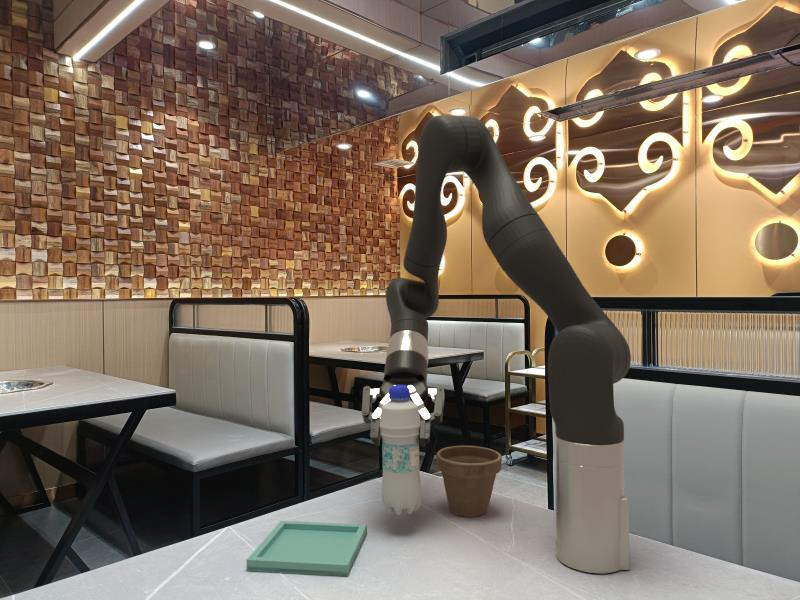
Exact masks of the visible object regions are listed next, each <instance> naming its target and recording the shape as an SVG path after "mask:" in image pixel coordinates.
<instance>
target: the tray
mask: <svg viewBox="0 0 800 600" xmlns="http://www.w3.org/2000/svg"><path fill="white" fill-rule="evenodd" d="M367 526H368V525H367V524H363V523H362V524H359V523H341V522H340V523H339V522H321V521H319V522H316V521H315V522H314V521H297V520H296V521H294V520H280V521H279V522H278V523H277V524H276V526H275V527H274V528H273V529H272V530H271V531H270V532H269V534H268V535H267V536H266V537H265V538H264V539H263V540H262V542H260V544H259V545H258V546H257V547H256V548H255V550H254V551H252V553H251V554H250V555H249V556H248V558H247V559H246V571H247V572H262V573H277V574H278V573H281V574H295V575H312V576H331V577H348V576H349V575H350V572H351V570H352V568H353V565H354V563H355V560H356V559H357V558H358V557H357V556H358V555H359V553H360V550H361V548H362V545H363V543H364V542H365V539H366V536H367V533H368V529H367V528H368V527H367Z"/></svg>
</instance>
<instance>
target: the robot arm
mask: <svg viewBox="0 0 800 600" xmlns="http://www.w3.org/2000/svg"><path fill="white" fill-rule="evenodd" d="M450 172H452V173H453V172H455V173H456V172H463V173H465V174H466V175H467V176H468V177H469V179H470V180H471V182H472V183H473V185H474V187H475V188H476V190H477V192H478V193H479V196H480V198H481V203H482V205H481V207H482V209H481V210H482V212H481V213H482V214H481V229H482V235H483V239H484V241H485V243H486V245H487V247H488V250H490V252H491V254H492V256H493V257H494V258H495V261H496V262H497V263H498V266H499V267H500V269H501V270H502V271H503V273H504V274H506V276H507V277H508V279H510V280H511V281H512V283H513V284H514V285H515V286H516V287H517V288H519V289H520V290H521V291H522V293H525V295H526V296H527V297H529V299H531V300H532V301H533V302H534V303H535V304H536V305H537V306H539V308H540V309H541V310H542V311H543V312H544V313H545V315H546V316H547V317H548V319H549V320H550V322H551V323H552V325H553V327H554V328H555V330H556V332H557V334H556V335H555V336H554V337H553V339H552V341H551V343H550V347H549V350H548V357H547V358H548V359H547V377H548V396H549V397H548V398H549V410H550V415H551V419H552V420H553V423H554V427H555V429H554V430H555V548H556V550H555V553H556V555H555V556H556V558H557V559H558V561H559V562H560V563H562V564H563V565H564V566H566V567H569V568H571V569H575V570H578V571H579V572H580V571H581V572H586V573H590V574H592V573H593V574H610V573H617V572H618V571H622V570H623V571H624V570H627V571H629V570H630V501H629V498H628V497H627V496H626V495H625V425H624V421H623V419H622V418H621V417H620V416H619V415H618V414H617V412H616V410H615V400H614V399H615V395H614V384H616V383H619V382H620V381H622V380H623V378H625V377H626V375H627V374H628V373H629V370H630V367H631V362H632V355H631V350H630V347H629V344H628V341H627V339H626V338H625V336H624V335H623V333H622V332H621V331H620V329H618V327H617V326H616V325H615V324H614V322H613V321H612V320H611V319H610V317H609V316H608V315H607V314H606V313H605V312H604V310H603V309H602V308H601V307H600V306H599V304H598V303H597V302H596V301H595V300H594V299H593V297H592V296H591V294H590V293H589V291H588V290H587V289H586V288H585V286H584V284H583V283H582V282H581V280H580V278H579V276H578V275H577V273H576V271H575V270H574V268H573V267H572V265H571V263H570V262H569V260H568V259H567V257H566V255H565V254H564V252H563V251H562V249H561V248H560V246H559V245H558V243H557V241H556V239H555V238H554V236H553V235H552V233H551V231H550V229H549V228H548V227H547V226H546V224H545V222H544V220H542V217H540V215H539V213H538V212H537V210H536V209H535V208H534V206H533V205H532V204H531V202H530V201H529V199H528V197H527V196H526V194H525V193H524V192H523V190H522V188H521V186H520V185H519V183H518V182H517V180H516V178H515V177H514V175H513V174H512V172H511V170H510V169H509V167H508V165H507V163H506V161H505V160H504V157H503V156H502V153H501V152H500V149H499V148H498V146H497V144H496V141H495V138H494V137H493V135H492V134H491V131H490V130H489V128H488V127H487V126H486V125H485V124H484V123H483V121H482V120H480V119H478V118H476V117H474V116H468V115H447V114H445V115H443V114H440V115H435V116H432V117H431V118H429V119H428V120H427V121H426V123H425V125H424V126H423V128H422V131H421V134H420V138H419V144H418V153H417V163H416V175H415V176H416V177H415V188H414V189H415V192H414V205H413V214H412V215H413V216H412V222H411V228H410V232H409V236H408V240H407V245H406V249H405V252H404V256H403V264H402V265H403V268H404V269H405V271H406V272H407V273H409V274H410V275H412V276H413V277H416V278H418V279H420V280H416V279H409V278H406V277H395V278H394V279H393V280H392V281H390V282H389V284H388V286H387V289H386V292H385V303H386V306H387V311H388V314H389V318H390V325H391V326H390V335H389V343H388V345H387V348H386V355H385V362H384V363H385V364H384V371H383V380H382V385H381V386H379V388H371V387H370V386H369V385H366V386H364V387H363V390H362V401H361V402H362V403H361V404H362V405H361V416H362V419H363V423H364V424H371V425H370V433H369V436H370V437H369V438H370V440H371V442H372V443H373V444H374V447H380V444H381V438H382V437H381V435H380V426H379V424H380V417H381V408H382V405H384V404H385V403H387V402H389V401H391V400H390V399H389V389H390V388H391V387H392V386H395V385H405V386H407V387H408V388H409V389H410V399H409V400H410V401H411V402H413V403H415V404H417V405H418V408H419V415H420V421H421V427H420V436H419V447H422V448H425V447H426V444H429V443H430V440H431V439H430V438H431V426H432V425H435V424H436V425H441V424H442V423H443V416H444V405H445V389H444V386H442V385H438V386H437V387H436V388H429V387H428V385H427V384H428V365H429V361H430V360H429V347H428V341H429V340H428V339H429V338H428V337H429V322H428V320H427V319H428V318H430V317H433V316H434V314H435V313H436V312H437V310H438V307H439V302H440V296H439V295H440V294H439V274H440V273H439V272H440V267H441V263H442V260H443V255H444V253H445V250H446V245H447V241H448V240H447V239H448V226H447V222H446V221H447V220H446V218H445V214H444V210H443V205H442V197H441V196H442V195H441V194H442V189H443V188H442V187H443V184H444V181H445V178H446V176H447V173H450ZM421 280H422V281H421ZM378 397H380V398H381V401H380V402H379V403H378V407H377V408H376V409H375V410H374V412H372V409H373V403H376V402H375V401H376V400H377V398H378ZM429 397H430V398H431V401H432V402H433V403H434V409H433V412H431V413H429V411H428V409H427V408H426V406H425V404H424V403H425V401H426V400H428V398H429Z"/></svg>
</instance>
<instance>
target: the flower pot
mask: <svg viewBox="0 0 800 600" xmlns="http://www.w3.org/2000/svg"><path fill="white" fill-rule="evenodd" d="M502 459H503V457H502V454H501V453H499V452H498V451H496V450H494V449H491V448H488V447H484V446H483V447H482V446H478V445H477V446H476V445H454V446H448V447H443V448H441V449H440V450H438V451H437V452H436V468H437V469H438V470H439V471H440V472H441V475H442V481H443V487H444V490H445V495H446V499H447V503H448V507H449V510H450V511H451V512H452V513H453V514H455V515H457V516H461V517H467V518H468V517H471V518H474V517H480V516H483V515H484V514H486V513H487V511H488V508H489V505H490V502H491V498H492V493H493V490H494V485H495V481H496V476H497V474H498V473H500V472H501V470H502V463H503V462H502Z"/></svg>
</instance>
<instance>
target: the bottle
mask: <svg viewBox="0 0 800 600" xmlns="http://www.w3.org/2000/svg"><path fill="white" fill-rule="evenodd" d="M389 399H390V400H391V401H389V402H387V403H385V404H384V405H382V408H381V417H380V424H379V426H380V435H381V437H380V438H381V443H382V444H381V450H382V451H381V452H382V481H381V498H382V499H381V500H382V504H383V506H384V508H385V510H386V511H387V513H390V514H393V513H394V512H395V514H396V515H397V516H398V515H399V516H400V515H401V514H402V512H403V510H404V509H406V514H407V515H411V514H412V513H413V512H416V511H418V510H419V508H420V506H421V502H422V485H421V476H420V475H421V474H420V472H421V471H420V428H421V420H420V415H419V408H418V405H417V404H415V403H413V402H411V401H410V400H409V399H410V389H409V388H408V387H407V386H405V385H395V386H392V387H391V388H390V389H389ZM394 510H395V511H394Z"/></svg>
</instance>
